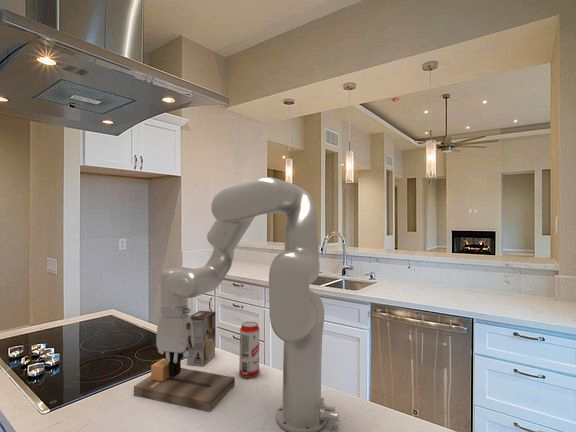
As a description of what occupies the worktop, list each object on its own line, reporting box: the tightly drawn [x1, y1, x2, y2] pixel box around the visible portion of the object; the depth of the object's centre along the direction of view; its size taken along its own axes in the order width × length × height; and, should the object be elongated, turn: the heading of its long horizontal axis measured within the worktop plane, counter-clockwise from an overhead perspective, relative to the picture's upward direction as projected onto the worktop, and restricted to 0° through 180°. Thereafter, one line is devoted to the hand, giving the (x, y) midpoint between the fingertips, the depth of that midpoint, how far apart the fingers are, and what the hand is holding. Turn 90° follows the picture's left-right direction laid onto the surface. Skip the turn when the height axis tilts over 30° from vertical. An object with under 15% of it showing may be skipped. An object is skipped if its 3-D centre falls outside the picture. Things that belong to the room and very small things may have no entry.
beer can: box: [238, 321, 261, 379], centre depth 105 cm, size 6×6×16 cm
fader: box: [150, 358, 170, 382], centre depth 97 cm, size 4×5×4 cm
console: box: [133, 367, 236, 413], centre depth 94 cm, size 24×14×3 cm, turn 72°
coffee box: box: [186, 310, 216, 367], centre depth 115 cm, size 9×6×16 cm
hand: (174, 374), depth 96 cm, fingers closed
